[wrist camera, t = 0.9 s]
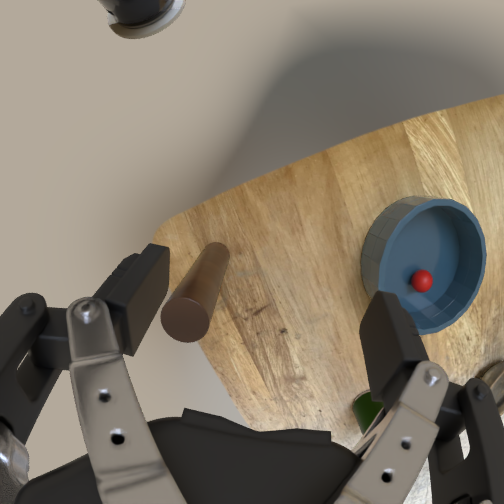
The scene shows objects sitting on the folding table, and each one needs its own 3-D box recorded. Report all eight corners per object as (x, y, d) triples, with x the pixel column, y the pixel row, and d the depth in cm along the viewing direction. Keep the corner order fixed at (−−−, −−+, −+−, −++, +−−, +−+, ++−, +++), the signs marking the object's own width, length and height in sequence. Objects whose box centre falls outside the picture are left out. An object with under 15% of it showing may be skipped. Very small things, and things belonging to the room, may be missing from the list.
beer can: (362, 385, 40) (388, 438, 29) (388, 390, 41) (417, 440, 29) (345, 410, 42) (365, 464, 30) (371, 414, 42) (394, 465, 30)
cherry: (408, 267, 36) (419, 274, 33) (426, 265, 36) (438, 272, 33) (406, 289, 36) (416, 297, 34) (424, 287, 36) (435, 294, 34)
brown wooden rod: (201, 243, 36) (156, 298, 18) (228, 241, 36) (206, 296, 18) (204, 269, 36) (164, 342, 19) (230, 267, 36) (212, 342, 19)
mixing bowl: (360, 195, 34) (380, 198, 29) (463, 197, 34) (489, 200, 28) (357, 322, 38) (372, 344, 32) (453, 307, 38) (475, 323, 32)
